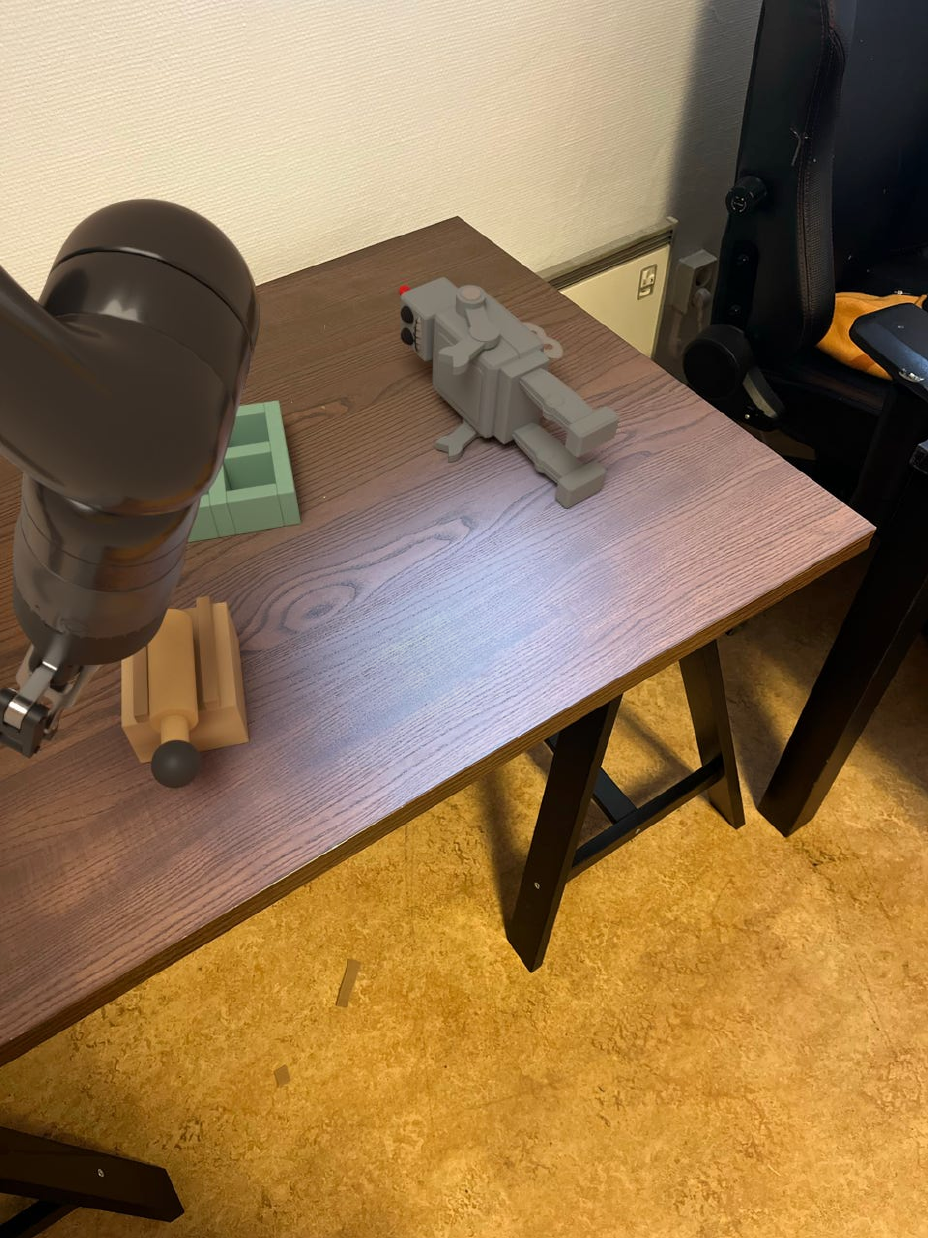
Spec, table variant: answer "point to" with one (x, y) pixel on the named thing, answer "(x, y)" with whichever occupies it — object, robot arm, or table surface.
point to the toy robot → (504, 383)
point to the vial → (173, 700)
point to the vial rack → (251, 479)
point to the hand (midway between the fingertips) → (76, 672)
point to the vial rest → (214, 686)
